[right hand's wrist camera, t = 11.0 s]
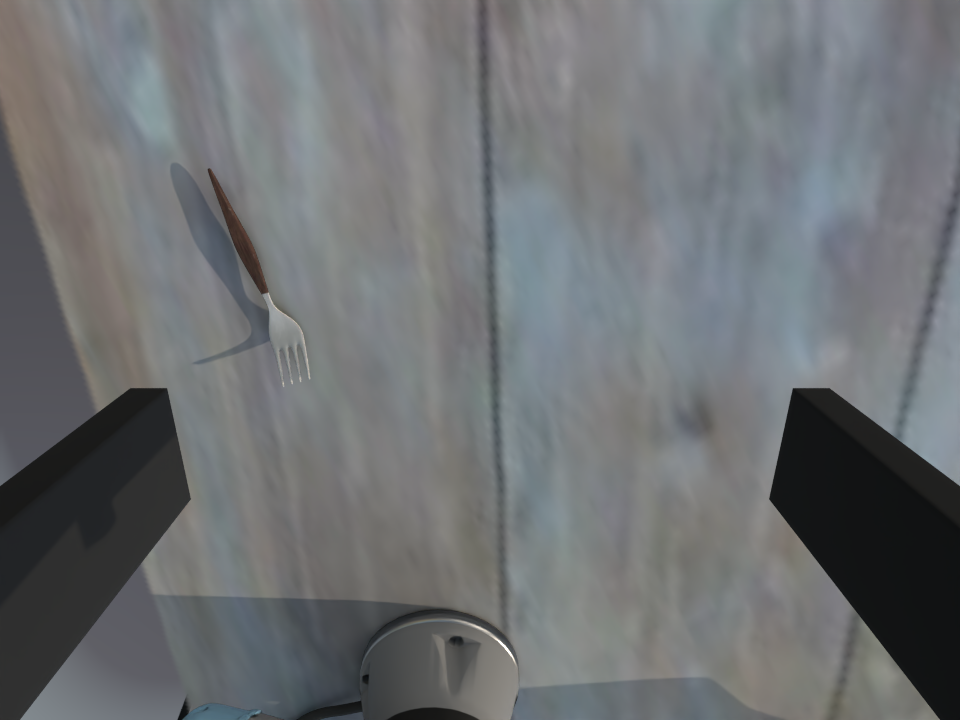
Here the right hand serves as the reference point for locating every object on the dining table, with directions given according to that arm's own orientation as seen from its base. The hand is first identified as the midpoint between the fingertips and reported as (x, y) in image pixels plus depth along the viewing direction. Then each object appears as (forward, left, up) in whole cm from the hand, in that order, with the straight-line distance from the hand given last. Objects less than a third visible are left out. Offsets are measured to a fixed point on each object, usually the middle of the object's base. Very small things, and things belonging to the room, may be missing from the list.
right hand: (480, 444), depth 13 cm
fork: (-16, +5, -32) cm, 36 cm away
